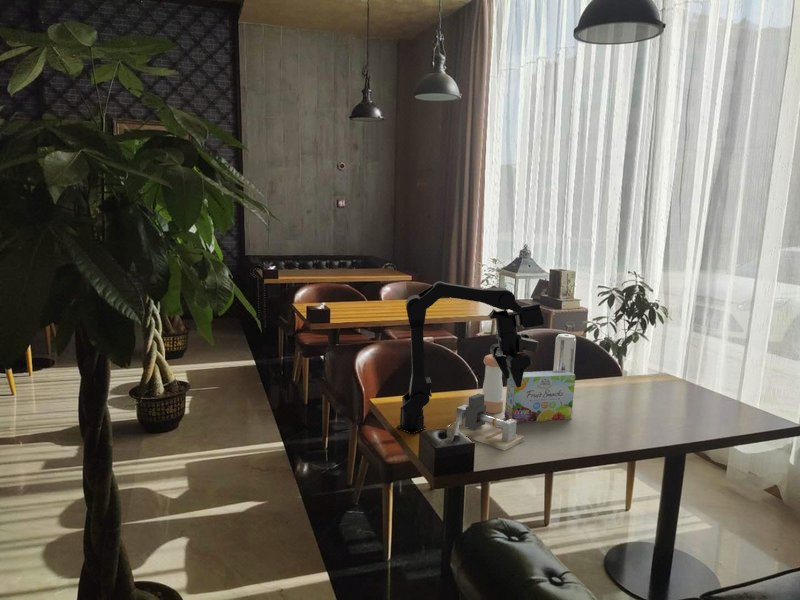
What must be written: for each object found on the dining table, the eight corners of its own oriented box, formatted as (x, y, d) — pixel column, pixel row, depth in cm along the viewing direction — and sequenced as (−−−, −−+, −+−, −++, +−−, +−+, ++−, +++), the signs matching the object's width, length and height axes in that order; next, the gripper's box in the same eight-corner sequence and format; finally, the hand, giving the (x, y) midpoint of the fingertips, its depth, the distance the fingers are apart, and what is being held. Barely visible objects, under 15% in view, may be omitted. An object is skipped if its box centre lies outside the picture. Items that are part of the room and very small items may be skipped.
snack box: (512, 424, 173) (515, 377, 171) (503, 418, 178) (506, 372, 176) (572, 419, 179) (576, 373, 177) (562, 413, 184) (566, 368, 182)
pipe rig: (456, 424, 168) (456, 407, 168) (464, 421, 171) (464, 404, 170) (507, 442, 156) (508, 424, 155) (515, 438, 159) (516, 420, 158)
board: (447, 429, 167) (447, 425, 167) (467, 421, 174) (467, 417, 174) (504, 450, 154) (505, 446, 153) (523, 440, 161) (524, 436, 161)
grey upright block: (465, 426, 165) (466, 396, 163) (476, 421, 169) (478, 392, 168) (473, 429, 163) (475, 399, 161) (485, 424, 167) (486, 395, 166)
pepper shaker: (496, 414, 181) (499, 357, 178) (476, 409, 185) (479, 352, 182) (506, 409, 187) (510, 352, 184) (487, 404, 191) (490, 349, 188)
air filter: (568, 404, 193) (574, 333, 189) (572, 411, 186) (578, 337, 182) (549, 403, 193) (554, 332, 189) (552, 410, 187) (558, 336, 183)
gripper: (546, 332, 155) (552, 386, 158) (521, 321, 173) (526, 369, 176) (508, 339, 154) (514, 394, 156) (486, 327, 172) (492, 376, 174)
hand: (513, 382), depth 166 cm, fingers open, 9 cm apart
